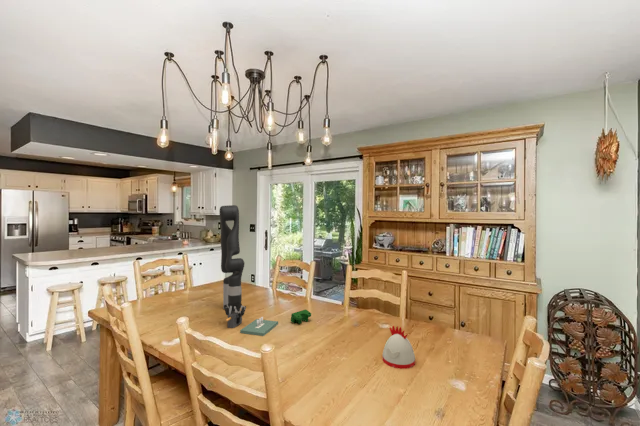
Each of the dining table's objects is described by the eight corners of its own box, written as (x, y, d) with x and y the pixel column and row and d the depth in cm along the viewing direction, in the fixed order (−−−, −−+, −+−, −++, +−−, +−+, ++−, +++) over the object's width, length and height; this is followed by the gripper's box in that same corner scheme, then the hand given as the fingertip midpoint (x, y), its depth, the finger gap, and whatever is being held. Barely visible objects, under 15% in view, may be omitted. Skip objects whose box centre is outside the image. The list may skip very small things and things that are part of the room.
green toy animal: (298, 331, 179) (295, 320, 175) (291, 326, 183) (289, 315, 179) (313, 319, 186) (311, 308, 182) (306, 315, 190) (304, 303, 186)
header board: (256, 321, 183) (256, 312, 183) (278, 324, 179) (278, 314, 179) (240, 332, 166) (240, 322, 166) (263, 336, 162) (263, 325, 162)
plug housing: (236, 322, 182) (236, 310, 182) (241, 322, 181) (241, 310, 181) (223, 329, 170) (223, 317, 170) (229, 330, 169) (229, 318, 169)
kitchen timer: (391, 350, 146) (391, 319, 146) (419, 359, 137) (420, 325, 137) (376, 361, 135) (377, 327, 135) (406, 372, 126) (407, 335, 126)
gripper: (249, 292, 179) (249, 322, 179) (227, 290, 183) (227, 319, 183) (242, 296, 172) (242, 327, 172) (220, 294, 176) (220, 324, 176)
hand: (234, 323), depth 177 cm, fingers closed on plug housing, 3 cm apart
